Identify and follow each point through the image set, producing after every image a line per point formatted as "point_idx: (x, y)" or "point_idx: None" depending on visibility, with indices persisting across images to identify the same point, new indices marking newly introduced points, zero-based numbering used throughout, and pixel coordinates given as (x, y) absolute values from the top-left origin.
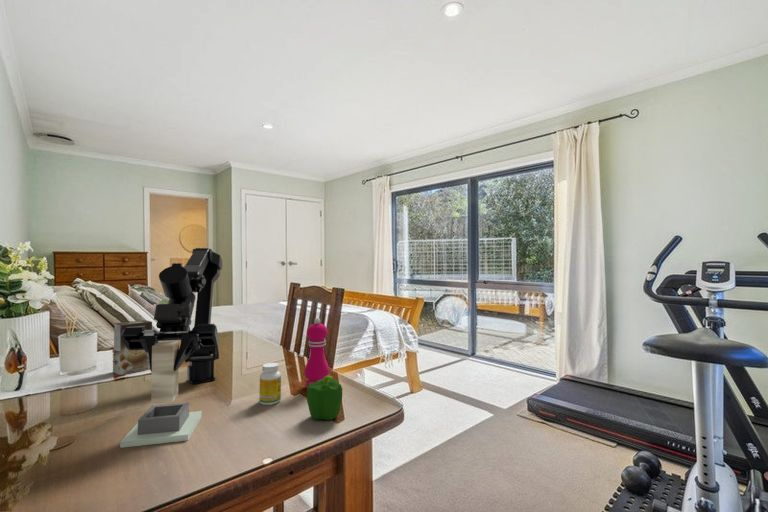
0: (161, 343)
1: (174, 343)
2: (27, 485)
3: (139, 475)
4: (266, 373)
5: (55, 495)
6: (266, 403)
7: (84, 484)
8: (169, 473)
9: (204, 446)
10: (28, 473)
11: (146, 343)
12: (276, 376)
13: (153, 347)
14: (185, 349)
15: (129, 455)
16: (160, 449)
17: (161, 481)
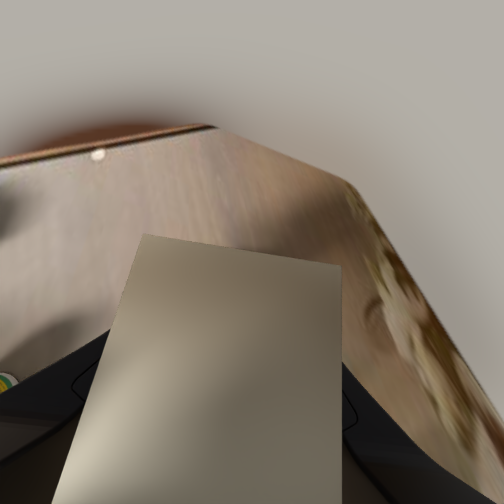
0: (281, 399)
1: (125, 336)
2: (355, 211)
3: (245, 184)
4: None
5: (317, 181)
6: (7, 376)
7: (298, 189)
8: (213, 174)
9: (171, 223)
10: (370, 239)
11: (470, 491)
12: None
13: (323, 267)
14: (68, 361)
15: (269, 238)
16: (231, 239)
17: (220, 162)
